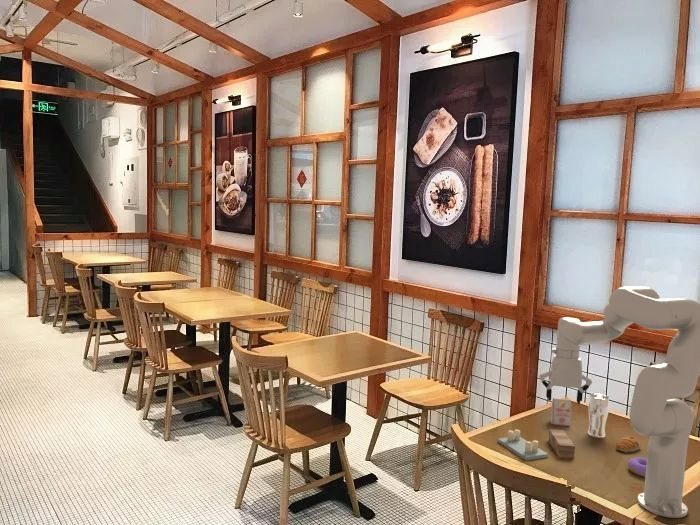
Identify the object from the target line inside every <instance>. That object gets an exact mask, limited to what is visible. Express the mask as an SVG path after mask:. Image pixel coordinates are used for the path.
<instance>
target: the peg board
mask: <svg viewBox="0 0 700 525" xmlns="http://www.w3.org/2000/svg"><path fill="white" fill-rule="evenodd" d="M497 442H498V443H499V444H500V443H501V444H500V445H502V446H503V445H504V447H505V448H506V447H507V448H506V449H508V450H509V449H510V450H509V451H510V452H512V451H513V453H514V454H515V453H516V454H515V455H517V456H518V457H519V458H522V459H523V460H524V459H525V460H524V461H533V460H539V459H546V458H549V453H547V452H546V451H544V450H542V449H541V448H539V440H532V441H527V440H526V439H524V438H523V437H521V430H519V429H514V430H510V429H509V430H507V437H501V438H497Z"/></svg>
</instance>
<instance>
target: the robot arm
mask: <svg viewBox="0 0 700 525" xmlns="http://www.w3.org/2000/svg"><path fill="white" fill-rule="evenodd" d="M603 316H604V319H601V320H599V321H584V322H583V321H581V320H580V319H579V318H575V317H567V316H566V317H560V318H559V320H558V323H557V332H556V336H557V337H556V346H555V348H551V353H552V354H555V355H553V356H552V357H553V358H552V361H551V366H550V370H549V371H547V372H543V373H541V374H539V376H538V377H539V378H540V381H541V383H542V384H543V386H544V387H545V388H546V394H545V395H546V398H547V400H548V401H549V402H550V401H551V402H552V388H553V387H554V386H555V387H565V388H573V389H576V388H577V389H578V390H577V391H576V392H577V393H576V403H577V404H578V405H580V404H581V402H582V401H583V396H584V392H586V391H587V390H588V389H589V388H590V386H591V385H592V383H593V380H592V379H591V378H589V377H587V376H586V375H584V374H583V363H582V358H581V357H580V346H590V345H603V344H606V343H608V342H612V340H615V339H617V338H619V337H620V336H621V335H623V334H624V332H625V330H626V328H627V327H629V326H631V325H632V324H636V325H638V326H640V327H643V328H645V329H648V330H651V331H669V330H670V331H671V330H677V332H676V334H675V335H674V336H673V338H672V339H671V341H670V342H669V345H668V348H667V352H666V355H665V359H664V361H663V362H662V363H661V364H660V363H659V364H652V365H649V366H645V367H644V368H643V369H642V370H641V371H640V373H639V374H638V376H637V378H636V381H635V386H634V389H633V395H632V399H631V403H630V407H629V408H630V409H629V421H630V425H631V427H632V429H633V430H634V431H635V432H636V433H637V434H638V435H640V436H643V437H648V438H649V439H648V444H647V455H646V458H647V464H646V476H645V477H644V490H643V492H641V493H639V494H638V495H637V498H636V499H637V500H636V501H637V503H638V504H640V505H641V506H643V507H644V508H646V509H647V510H649V511H650V513H651V512H652V514H654V515H657V516H660V517H665V518H671V519H678V518H679V519H680V518H684V517H686V516H687V515H688V510H689V509H688V506H687V505H686V504H685V503H684V502H683V494H684V493H683V492H684V482H685V470H686V460H687V451H688V443H689V439H690V435H691V432H692V429H693V425H694V420H695V419H694V413H693V410H692V408H691V406H690V405H689V404H688V403H687V402H686V401H684V400H682V399H683V398H687V397H689V396H691V395H692V394H694V392H695V391H696V387H697V385H698V381H699V376H700V303H699V302H698V301H695V300H693V299H689V298H677V297H675V298H660V295H659V294H658V292H656V290H654V289H652V288H651V287H648V286H622V287H618V288H616V289H615V290H614V291H613V292H611V294H610V295H609V298H608V304H606V305H605V307H604V308H603ZM547 377H549V381H548V382H547V381H546V378H547ZM583 381H585V384H584V385H582V383H583ZM640 505H639V506H640ZM641 506H640V507H641ZM643 507H642V508H643ZM644 508H643V509H644ZM647 510H646V511H647ZM649 511H648V512H649Z"/></svg>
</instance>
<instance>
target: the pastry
mask: <svg viewBox="0 0 700 525" xmlns="http://www.w3.org/2000/svg"><path fill="white" fill-rule="evenodd" d="M641 447H642V446H641V444H640V442H639V440H638V439H637V438H636V437H634V436H629V435H628V436H627V435H626V436H625V437H622V438H620V439H619V440H617V442H616V446H615V449H616V450H617V451H619V452H623V453H635V452H636V451H638V450H640V448H641Z"/></svg>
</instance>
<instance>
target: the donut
mask: <svg viewBox="0 0 700 525" xmlns="http://www.w3.org/2000/svg"><path fill="white" fill-rule="evenodd" d="M646 464H647V457H641V456H639V457H637V456H635V457H632V458H630V459H629V460H628V462H627V467H628V470H629V471H630V472H632V473H633V474H635V475H637V476H639V477H644V478H645V476H646Z"/></svg>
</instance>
